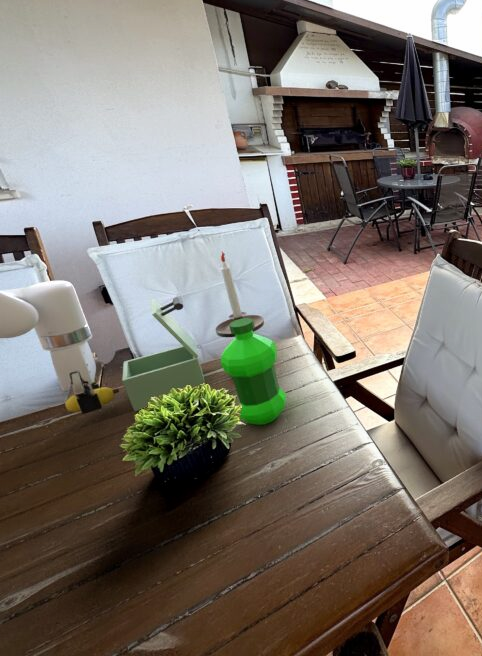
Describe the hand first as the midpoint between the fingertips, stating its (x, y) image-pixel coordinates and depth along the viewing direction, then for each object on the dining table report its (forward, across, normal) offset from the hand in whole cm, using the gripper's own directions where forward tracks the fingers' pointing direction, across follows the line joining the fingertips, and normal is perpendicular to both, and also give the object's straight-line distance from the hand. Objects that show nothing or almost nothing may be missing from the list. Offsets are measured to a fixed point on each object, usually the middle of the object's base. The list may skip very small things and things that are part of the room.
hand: (93, 405), depth 94 cm
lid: (-14, -1, +17) cm, 22 cm away
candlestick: (+2, +3, +31) cm, 32 cm away
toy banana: (0, 0, 0) cm, 0 cm away
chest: (+2, -1, +14) cm, 14 cm away
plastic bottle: (+2, +27, +30) cm, 41 cm away
